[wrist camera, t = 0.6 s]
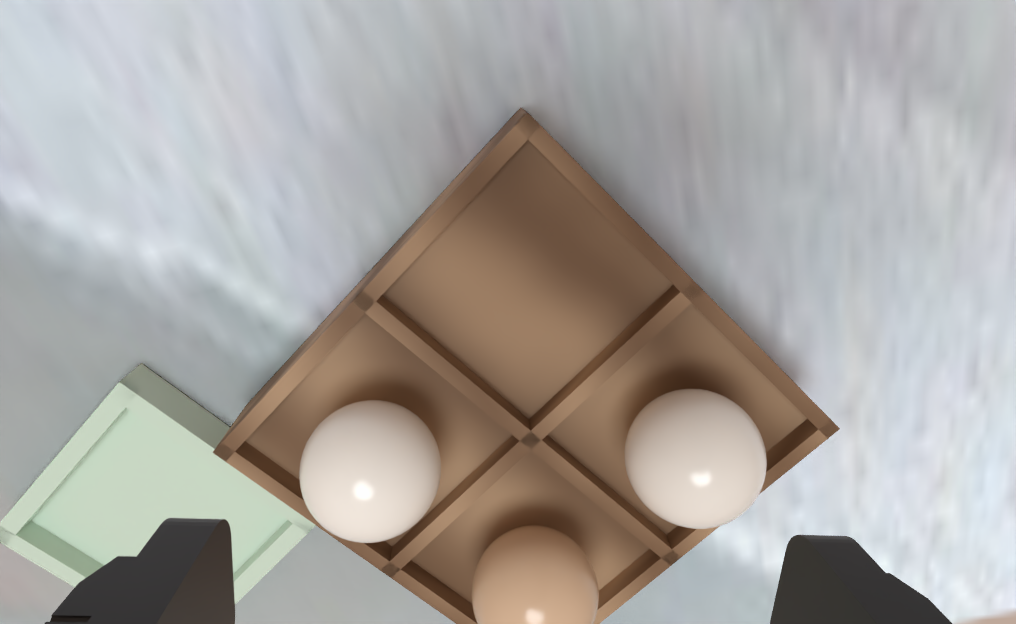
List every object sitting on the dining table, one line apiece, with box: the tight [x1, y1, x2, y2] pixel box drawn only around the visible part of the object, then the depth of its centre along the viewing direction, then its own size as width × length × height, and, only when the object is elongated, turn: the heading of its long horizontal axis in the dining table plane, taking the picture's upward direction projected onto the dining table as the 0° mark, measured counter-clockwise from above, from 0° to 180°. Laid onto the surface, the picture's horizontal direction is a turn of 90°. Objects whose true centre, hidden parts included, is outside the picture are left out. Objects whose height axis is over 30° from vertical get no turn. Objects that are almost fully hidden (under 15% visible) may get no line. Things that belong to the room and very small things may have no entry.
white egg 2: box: [624, 389, 767, 529], centre depth 24 cm, size 5×5×5 cm
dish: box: [0, 364, 316, 604], centre depth 29 cm, size 10×10×2 cm
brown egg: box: [471, 525, 599, 624], centre depth 26 cm, size 5×5×5 cm
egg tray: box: [212, 108, 840, 624], centre depth 27 cm, size 17×17×4 cm
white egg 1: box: [299, 400, 441, 543], centre depth 24 cm, size 5×5×5 cm
